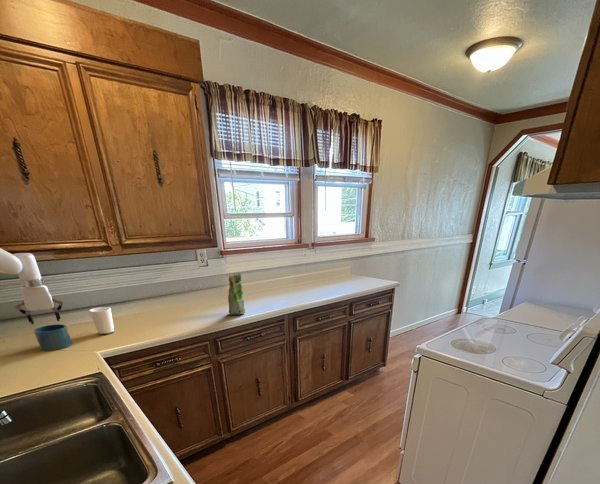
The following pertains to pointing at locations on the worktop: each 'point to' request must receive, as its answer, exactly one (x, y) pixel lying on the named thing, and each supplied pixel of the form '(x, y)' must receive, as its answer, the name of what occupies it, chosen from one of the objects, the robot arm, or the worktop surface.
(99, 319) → the cup
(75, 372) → the worktop surface
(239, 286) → the pouch
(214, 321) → the worktop surface
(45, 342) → the crock
